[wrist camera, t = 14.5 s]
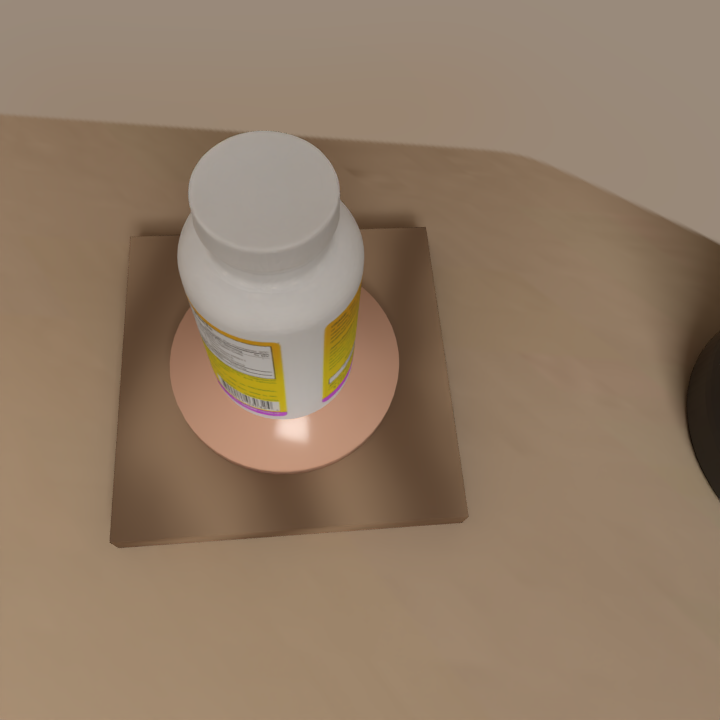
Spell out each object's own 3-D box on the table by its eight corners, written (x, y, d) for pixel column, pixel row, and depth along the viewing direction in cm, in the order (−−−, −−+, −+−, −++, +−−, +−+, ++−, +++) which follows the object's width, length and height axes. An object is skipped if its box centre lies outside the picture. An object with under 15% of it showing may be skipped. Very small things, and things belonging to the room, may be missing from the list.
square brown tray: (421, 242, 39) (425, 227, 37) (462, 522, 32) (468, 516, 31) (137, 252, 37) (130, 236, 36) (118, 547, 31) (109, 542, 29)
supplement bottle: (330, 285, 34) (340, 89, 22) (369, 403, 32) (403, 251, 20) (199, 316, 33) (138, 125, 21) (229, 440, 30) (177, 302, 19)
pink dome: (385, 267, 36) (387, 256, 35) (408, 466, 31) (411, 460, 31) (176, 274, 35) (173, 264, 34) (169, 482, 30) (165, 476, 30)
